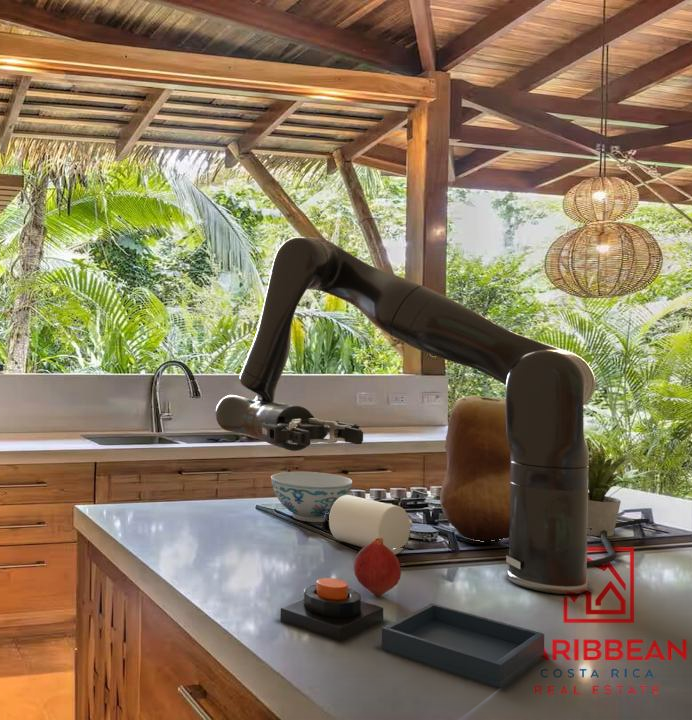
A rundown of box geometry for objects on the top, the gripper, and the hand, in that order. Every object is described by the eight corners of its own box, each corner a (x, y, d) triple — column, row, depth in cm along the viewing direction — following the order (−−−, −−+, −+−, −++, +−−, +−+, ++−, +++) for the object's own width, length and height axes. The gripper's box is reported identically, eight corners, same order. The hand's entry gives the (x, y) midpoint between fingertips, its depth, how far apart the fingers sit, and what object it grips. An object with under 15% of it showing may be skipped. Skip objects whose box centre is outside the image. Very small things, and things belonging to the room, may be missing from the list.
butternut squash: (539, 555, 117) (542, 400, 117) (447, 549, 121) (449, 398, 121) (512, 534, 131) (515, 394, 130) (430, 528, 135) (432, 392, 134)
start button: (326, 589, 93) (326, 575, 93) (353, 597, 90) (353, 583, 90) (310, 595, 90) (311, 581, 90) (337, 604, 88) (338, 589, 88)
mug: (377, 559, 116) (378, 508, 116) (327, 543, 125) (328, 497, 124) (426, 548, 122) (427, 500, 121) (375, 534, 130) (375, 490, 130)
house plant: (672, 547, 122) (674, 450, 122) (580, 543, 124) (582, 447, 124) (623, 526, 136) (624, 438, 136) (541, 523, 138) (542, 437, 138)
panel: (324, 603, 96) (324, 576, 96) (383, 621, 90) (383, 592, 90) (280, 621, 90) (280, 593, 90) (340, 642, 84) (340, 612, 84)
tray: (430, 622, 90) (431, 602, 90) (544, 655, 80) (544, 633, 80) (381, 648, 82) (381, 627, 82) (500, 688, 73) (500, 665, 73)
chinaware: (275, 525, 137) (275, 484, 136) (266, 507, 151) (267, 470, 151) (360, 529, 134) (360, 487, 134) (342, 510, 149) (343, 472, 149)
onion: (353, 599, 98) (354, 540, 97) (354, 586, 103) (354, 530, 103) (401, 605, 96) (402, 544, 95) (399, 591, 101) (399, 534, 101)
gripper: (244, 404, 124) (290, 413, 108) (322, 402, 127) (378, 412, 111) (244, 448, 124) (290, 464, 108) (321, 446, 127) (377, 461, 111)
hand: (334, 438), depth 110 cm, fingers open, 8 cm apart
